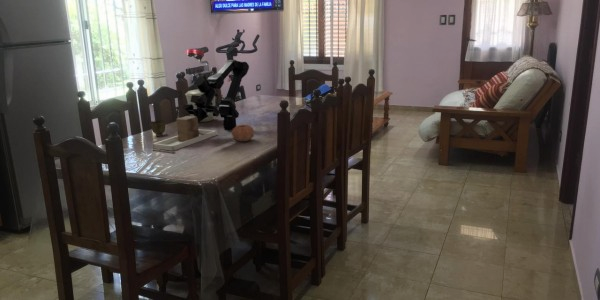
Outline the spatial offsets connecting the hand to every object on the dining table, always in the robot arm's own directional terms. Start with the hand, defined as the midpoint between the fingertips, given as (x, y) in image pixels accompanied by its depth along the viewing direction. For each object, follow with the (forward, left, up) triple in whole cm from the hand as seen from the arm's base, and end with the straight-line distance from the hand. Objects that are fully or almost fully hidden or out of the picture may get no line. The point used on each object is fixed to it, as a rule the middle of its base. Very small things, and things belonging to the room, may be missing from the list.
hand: (194, 124), depth 232 cm
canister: (-5, -50, -9) cm, 51 cm away
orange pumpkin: (-23, +8, -9) cm, 25 cm away
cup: (+18, -16, -8) cm, 26 cm away
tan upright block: (+3, +4, -7) cm, 8 cm away
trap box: (+4, +5, -8) cm, 11 cm away
